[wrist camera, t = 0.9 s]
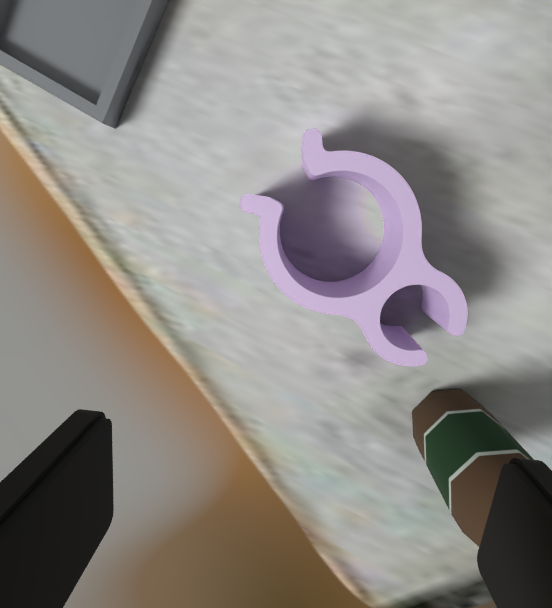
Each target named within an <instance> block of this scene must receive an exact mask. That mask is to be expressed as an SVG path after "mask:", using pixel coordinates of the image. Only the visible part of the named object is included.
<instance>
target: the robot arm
mask: <svg viewBox="0 0 552 608" xmlns="http://www.w3.org/2000/svg"><path fill="white" fill-rule="evenodd" d="M112 517H113V461H112V423H111V421H110V419H106V418H105V414H104V413H103V412H99V411H90V410H81V409H80V410H77V411H75V412H74V413H73V414H72V415H71V416H70V417H69V418H68V419H67V420H66V421H65V422H64V423H62V425H60V426H59V427H58V428H57V429H56V430H55V431H54V432H53V433H52V434H51V435H50V436H49V437H48V438H47V439H46V440H45V441H43V443H41V444H40V445H39V446H38V447H37V448H36V449H35V450H34V451H33V452H32V453H31V454H30V455H29V456H28V457H27V458H25V460H23V461H22V462H21V463H20V464H19V465H18V466H17V467H16V468H15V469H14V470H13V471H12V472H11V473H10V474H9V475H8V476H7V477H6V478H4V479H3V480H2V481H1V482H0V608H63V606H64V605H65V603H66V601H67V599H68V598H69V596H70V594H71V592H72V591H73V589H74V587H75V586H76V584H77V582H78V580H79V579H80V577H81V575H82V573H83V572H84V570H85V568H86V567H87V565H88V563H89V561H90V560H91V558H92V556H93V554H94V553H95V551H96V549H97V547H98V546H99V544H100V542H101V541H102V539H103V537H104V535H105V534H106V532H107V530H108V528H109V526H110V524H111V521H112ZM477 562H478V568H479V571H480V573H481V576H482V578H483V580H484V582H485V584H486V586H487V588H488V590H489V592H490V594H491V596H492V598H493V600H494V602H495V604H496V606H497V608H552V471H551V470H550V469H549V467H548V466H547V465H546V464H545V463H543V462H542V461H539V460H531V459H522V458H513V459H511V460H510V461H509V464H508V463H506V464H504V465H503V466H502V469H501V472H500V475H499V479H498V483H497V486H496V490H495V493H494V497H493V500H492V504H491V508H490V511H489V515H488V518H487V522H486V525H485V529H484V533H483V536H482V540H481V543H480V547H479V550H478V555H477Z"/></svg>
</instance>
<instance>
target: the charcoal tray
mask: <svg viewBox="0 0 552 608" xmlns="http://www.w3.org/2000/svg"><path fill="white" fill-rule="evenodd" d="M168 1H169V0H0V65H2V66H4V67H6V68H7V69H9V70H11V71H13V72H14V73H16V74H18V75H20V76H21V77H23V78H25V79H27V80H28V81H30V82H32V83H33V84H35V85H37V86H39V87H40V88H42V89H44V90H46V91H47V92H49V93H51V94H53V95H54V96H56V97H58V98H60V99H61V100H63V101H65V102H67V103H68V104H70V105H72V106H74V107H75V108H77V109H79V110H80V111H82V112H84V113H86V114H87V115H89V116H91V117H93V118H94V119H96V120H98V121H100V122H101V123H103V124H106V125H108V126H110V127H113V128H115V129H116V126H117V124H118V121H119V119H120V117H121V114H122V112H123V109H124V107H125V105H126V102H127V100H128V97H129V95H130V93H131V90H132V88H133V85H134V83H135V80H136V78H137V76H138V73H139V71H140V68H141V66H142V64H143V61H144V59H145V56H146V54H147V51H148V49H149V47H150V44H151V42H152V39H153V37H154V35H155V32H156V30H157V27H158V25H159V22H160V20H161V18H162V15H163V13H164V10H165V8H166V6H167V3H168Z"/></svg>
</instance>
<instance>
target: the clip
mask: <svg viewBox="0 0 552 608" xmlns="http://www.w3.org/2000/svg"><path fill="white" fill-rule="evenodd" d="M301 155H302V165H303V170H304V172H305V174H306V176H307V178H308V179H309V180H311V181H314V180H317V179H320V178H325V177H342V178H347V179H350V180H353V181H355V182H357V183H359V184H360V185H362V186H363V187H365V188H366V189H367V190H368V191H369V192H370V193H371V194H372V195H373V196H374V198H375V199H376V201H377V203H378V204H379V207H380V209H381V212H382V216H383V221H384V234H383V240H382V243H381V246H380V249H379V251H378V253H377V255H376V256H375V258H374V259H373V261H372V262H371V263H370V264H369V265H368V266H367V267H366V268H365V269H364V270H363V271H361V272H360V273H358V274H357V275H355V276H353V277H351V278H348V279H345V280H341V281H335V282H325V281H319V280H315V279H312V278H310V277H308V276H306V275H304V274H303V273H301V272H300V271H298V270H297V269H296V268H295V267H294V266H293V265H292V264H291V262H290V261H289V260H288V258H287V256H286V254H285V252H284V250H283V247H282V244H281V239H280V223H281V218H282V214H283V212H284V205H283V204H282V203H281V202H279V201H277V200H275V199H274V198H270V197H266V196H260V195H253V194H245V195H243V196H242V197H241V201H240V207H241V209H242V210H243V211H244V212H247V213H254V214H257V215H258V216H259V218H260V227H259V244H260V251H261V255H262V259H263V262H264V265H265V267H266V269H267V272H268V273H269V275H270V277H271V279H272V280H273V282H274V283H275V284H276V286H277V287H278V288H279V289H280V290H281V291H282V292H283V293H284V294H285V295H286V296H287V297H289V298H290V299H291V300H293V301H294V302H296V303H297V304H299V305H301V306H303V307H305V308H307V309H310V310H313V311H316V312H320V313H325V314H335V315H342V316H345V317H348V318H350V319H352V320H353V321H355V322H356V323H357V324H358V325H359V326H360V328H361V330H362V332H363V334H364V335H365V337H366V339H367V341H368V343H369V344H370V346H371V347H372V349H373V350H374V351H375V352H376V353H377V354H378V355H379V356H381V357H382V358H384V359H385V360H387V361H389V362H391V363H394V364H397V365H402V366H421V365H424V364H425V363H426V362H427V355H426V353H425V351H424V350H423V349H422V348H421V347H420V346H419V345H418V344H417V342H416V341H415V340H414V339H413V338H412V337H411V336H410V335H409V333H408V332H407V331H406V330H405V329H404V328H403V327H402V326H400V325H398V326H387V325H383V324H380V313H381V310H382V307H383V305H384V303H385V302H386V300H387V299H388V298H389V297H390V296H391V295H392V294H393V293H394V292H396V291H397V290H399V289H401V288H403V287H406V286H409V285H421V288H422V291H423V302H422V305H421V309H422V311H423V312H424V313H426V314H427V315H428V316H429V317H430V318H432V319H433V320H434V321H435V322H436V323H438V324H439V325H440V326H441V327H442V328H444V329H445V330H446V331H447V332H448V333H450V334H451V335H454V336H460V335H462V334H463V332H464V330H465V327H466V323H467V316H468V310H467V303H466V299H465V297H464V294H463V292H462V290H461V289H460V287H459V286H458V285H457V283H456V282H455V281H454V280H453V279H451V278H450V277H449V276H447V275H446V274H444V273H442V272H440V271H438V270H436V269H435V268H434V267H432V266H431V265H430V264H429V262H428V261H427V260H426V258H425V256H424V254H423V250H422V244H421V239H422V221H421V214H420V210H419V206H418V203H417V200H416V198H415V196H414V193H413V192H412V190H411V188H410V187H409V185H408V183H407V182H406V181H405V180H404V178H403V177H402V176H401V175H400V174H399V173H398V172H397V171H396V170H395V169H394V168H392V167H391V166H390V165H388V164H387V163H385V162H384V161H382V160H380V159H378V158H376V157H373V156H371V155H368V154H365V153H361V152H355V151H332V152H328V151H326V150H325V149H324V148H323V145H322V135H321V132H320V131H319V130H318V129H309V130H306V131H305V132H304V134H303V139H302V146H301Z"/></svg>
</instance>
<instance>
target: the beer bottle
mask: <svg viewBox="0 0 552 608" xmlns="http://www.w3.org/2000/svg"><path fill="white" fill-rule="evenodd" d="M412 418H413V437H414V439H415V442H416V445H417V447H418V449H419V451H420V453H421V455H422V457H423V459H424V461H425V463H426V465H427V467H428V469H429V471H430V473H431V475H432V477H433V479H434V481H435V483H436V485H437V487H438V489H439V490H440V492H441V494H442V496H443V498H444V500H445V502H446V504H447V506H448V508H449V510H450V512H451V514H452V516H453V517H454V519H455V521H456V522H457V524H458V525H459V527H460V529H461V530H462V532H463V533H464V534H465V535H467V536H468V537H469V538H470V539H471V540H472V541H473V542H474V543H475V544H477V545H478V546H479V547H480V543H481V540H482V536H483V533H484V529H485V525H486V522H487V518H488V515H489V511H490V508H491V504H492V500H493V497H494V493H495V490H496V486H497V483H498V479H499V475H500V472H501V469H502V466H503V465H504V464H506V463H508V464H509V461H510V460H511V459H513V458H522V459H531V460H534V459H533V458H532V457H531V456H530V455H529V454H528V453H527V452H526V451H525V450H524V449H523V448H522V446H521V445H520V444H519V443H518V442H517V441H516V440H515V439H514V438H513V437H512V436H511V435H510V434H509V433H508V431H507V430H506V429H505V428H504V427H503V426H502V425H501V424H500V423H499V422H498V421H497V420H496V419H495V418H494V417H493V415H492V414H491V413H489V412H488V411H487V410H486V409H485V408H484V407H483V406H482V405H480V404H479V403H478V402H477V401H475V400H474V399H473V398H472V397H470V396H469V395H468V394H467V393H465V392H464V391H463V390H462V389H455V390H444V391H432V392H431V393H430V394H429V395H428V396H427V397H426V398H425V399H424V400H423V401H422V402H421V403H420V404H419V405H418V406H417V407H416V408H415V409H414V410H413V411H412Z"/></svg>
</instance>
